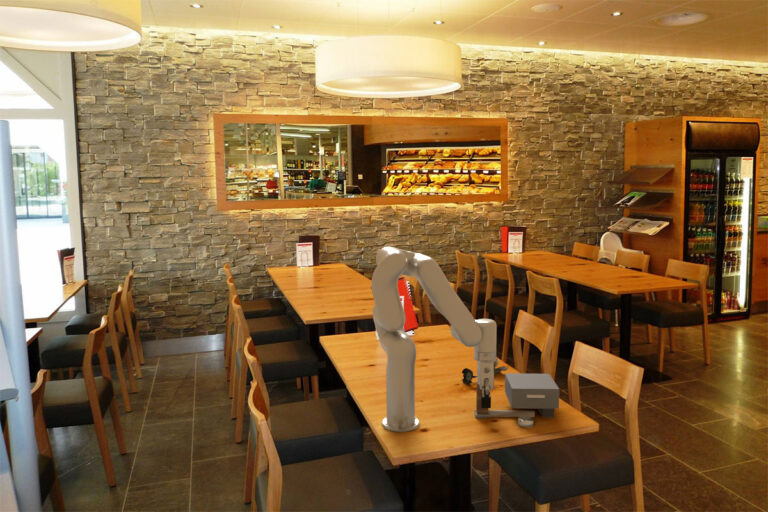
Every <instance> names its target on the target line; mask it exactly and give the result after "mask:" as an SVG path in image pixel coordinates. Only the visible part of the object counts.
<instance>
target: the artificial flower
mask: <svg viewBox="0 0 768 512" xmlns="http://www.w3.org/2000/svg"><path fill="white" fill-rule="evenodd" d="M493 364H494V377H495V376H497V373H501V372H502V371H503V372H506V371H507V370H508V369H509V368H508V366H507V367H506V366H504V365H503V366H499V358H498V357H496V360H495V361H493ZM498 366H499V367H498ZM461 374H463V375H462V377H463V378H462V377H461V382H462V384H466V385H471V384H472V383H473V382H472V380H473V379H476V378H478V377H477V375H474V372H473V371H472V369H470V368H468V367H466V368H463V369H462V371H461Z"/></svg>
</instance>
